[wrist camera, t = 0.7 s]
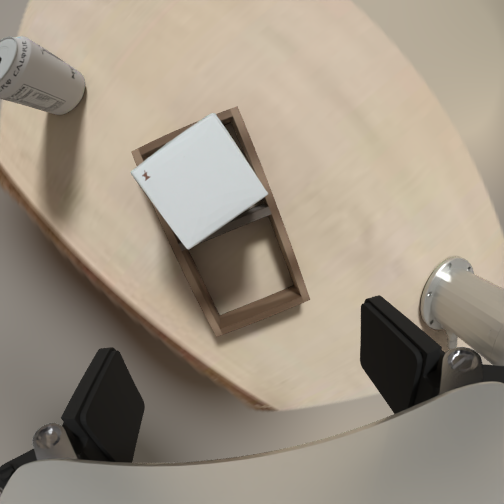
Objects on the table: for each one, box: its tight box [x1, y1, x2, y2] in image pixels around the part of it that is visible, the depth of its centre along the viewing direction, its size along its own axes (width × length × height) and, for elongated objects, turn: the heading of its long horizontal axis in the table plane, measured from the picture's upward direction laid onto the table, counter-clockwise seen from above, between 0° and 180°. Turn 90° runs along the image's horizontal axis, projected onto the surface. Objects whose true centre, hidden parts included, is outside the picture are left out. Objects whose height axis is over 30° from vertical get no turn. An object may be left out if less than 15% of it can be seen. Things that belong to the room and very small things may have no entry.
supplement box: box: [131, 113, 268, 250], centre depth 25 cm, size 7×7×13 cm
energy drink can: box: [0, 36, 85, 115], centre depth 19 cm, size 6×6×15 cm
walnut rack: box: [132, 107, 310, 337], centre depth 31 cm, size 22×12×4 cm, turn 21°
